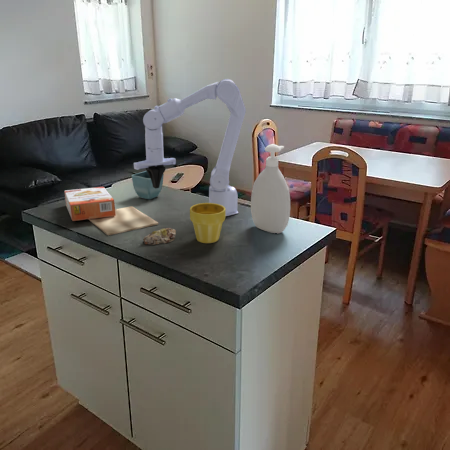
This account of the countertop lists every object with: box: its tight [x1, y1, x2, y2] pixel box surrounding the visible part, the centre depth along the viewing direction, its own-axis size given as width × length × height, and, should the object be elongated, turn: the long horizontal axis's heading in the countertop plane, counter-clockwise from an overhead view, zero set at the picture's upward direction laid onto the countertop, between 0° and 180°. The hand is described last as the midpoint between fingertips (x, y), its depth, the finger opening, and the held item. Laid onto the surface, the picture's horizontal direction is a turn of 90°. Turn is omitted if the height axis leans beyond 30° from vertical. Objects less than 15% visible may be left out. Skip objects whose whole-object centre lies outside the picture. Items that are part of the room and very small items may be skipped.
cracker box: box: [64, 186, 116, 222], centre depth 156 cm, size 14×6×21 cm
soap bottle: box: [250, 143, 291, 234], centre depth 139 cm, size 14×8×27 cm, turn 47°
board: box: [87, 205, 159, 236], centre depth 150 cm, size 17×20×1 cm
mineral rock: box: [143, 227, 177, 246], centre depth 135 cm, size 11×4×8 cm
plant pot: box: [189, 202, 226, 244], centre depth 134 cm, size 10×10×10 cm
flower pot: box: [131, 170, 165, 200], centre depth 172 cm, size 9×9×9 cm
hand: (156, 187), depth 154 cm, fingers closed
